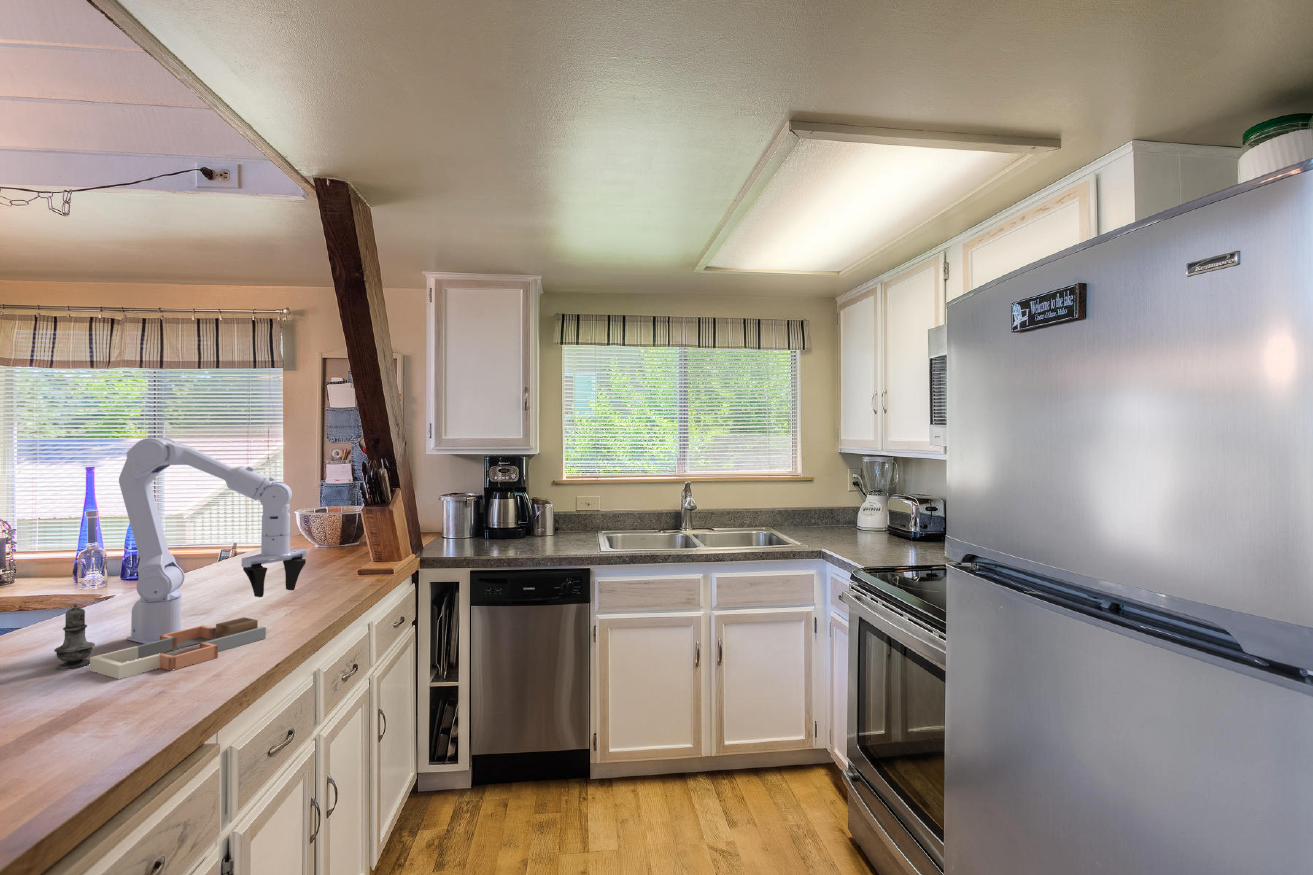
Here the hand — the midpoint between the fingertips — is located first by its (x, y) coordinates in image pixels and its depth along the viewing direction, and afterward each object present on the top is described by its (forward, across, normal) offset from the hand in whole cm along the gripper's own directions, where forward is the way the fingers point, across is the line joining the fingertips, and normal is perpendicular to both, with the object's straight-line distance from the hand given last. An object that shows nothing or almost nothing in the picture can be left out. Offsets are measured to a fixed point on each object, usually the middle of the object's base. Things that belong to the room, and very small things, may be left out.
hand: (274, 593), depth 151 cm
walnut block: (+9, -8, 0) cm, 12 cm away
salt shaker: (+9, -33, +11) cm, 36 cm away
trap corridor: (+8, -19, 0) cm, 21 cm away
